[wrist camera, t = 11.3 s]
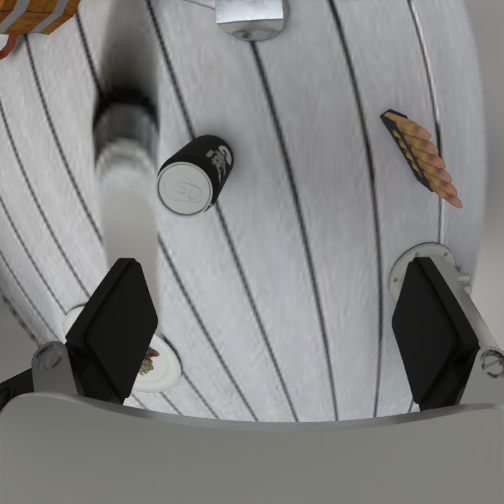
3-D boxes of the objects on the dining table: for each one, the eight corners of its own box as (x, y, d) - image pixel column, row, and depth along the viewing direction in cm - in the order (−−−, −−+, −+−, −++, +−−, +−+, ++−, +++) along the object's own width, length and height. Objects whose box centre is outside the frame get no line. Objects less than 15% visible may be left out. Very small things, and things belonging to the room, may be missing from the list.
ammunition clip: (379, 115, 33) (418, 133, 23) (390, 108, 32) (432, 123, 22) (417, 180, 37) (458, 218, 27) (427, 173, 36) (470, 209, 26)
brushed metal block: (278, -14, 23) (278, -35, 18) (282, 30, 27) (283, 18, 21) (225, -11, 24) (212, -29, 18) (228, 33, 27) (216, 23, 21)
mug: (64, -50, 19) (1, -67, 6) (103, -19, 24) (35, -39, 11) (-2, 42, 27) (-66, 52, 14) (28, 81, 32) (-42, 99, 19)
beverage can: (195, 126, 36) (162, 147, 26) (242, 146, 37) (227, 174, 27) (178, 170, 39) (144, 206, 29) (222, 189, 40) (202, 231, 30)
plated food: (171, 399, 73) (168, 409, 70) (71, 357, 69) (66, 366, 66) (196, 335, 57) (193, 348, 54) (62, 279, 53) (54, 290, 50)
